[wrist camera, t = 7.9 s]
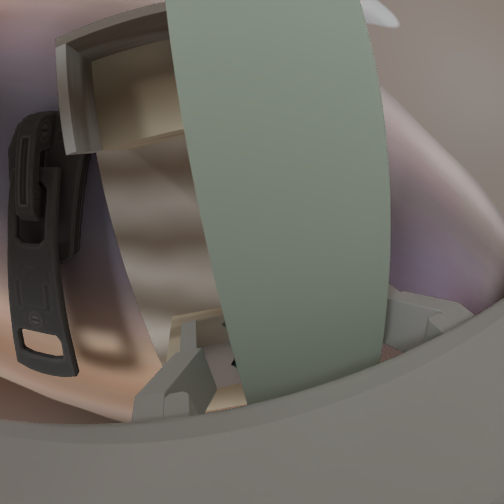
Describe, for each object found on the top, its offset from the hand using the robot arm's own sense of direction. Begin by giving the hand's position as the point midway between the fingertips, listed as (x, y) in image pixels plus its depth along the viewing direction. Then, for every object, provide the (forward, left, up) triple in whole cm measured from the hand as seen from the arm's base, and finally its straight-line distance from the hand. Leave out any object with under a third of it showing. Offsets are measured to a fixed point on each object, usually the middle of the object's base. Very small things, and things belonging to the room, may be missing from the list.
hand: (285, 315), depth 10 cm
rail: (0, 0, -2) cm, 2 cm away
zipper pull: (-1, -19, -18) cm, 26 cm away
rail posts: (+1, -5, -18) cm, 19 cm away
